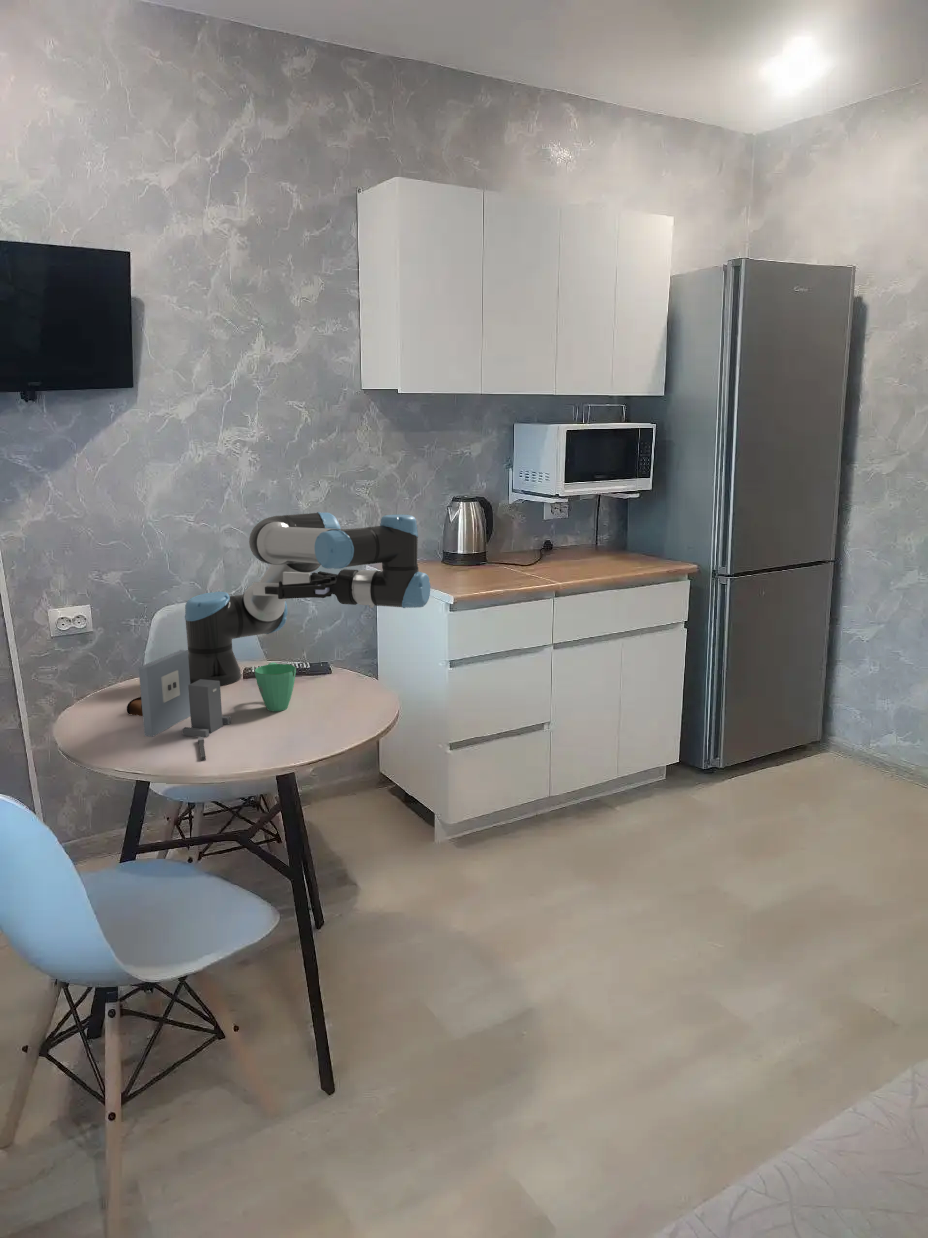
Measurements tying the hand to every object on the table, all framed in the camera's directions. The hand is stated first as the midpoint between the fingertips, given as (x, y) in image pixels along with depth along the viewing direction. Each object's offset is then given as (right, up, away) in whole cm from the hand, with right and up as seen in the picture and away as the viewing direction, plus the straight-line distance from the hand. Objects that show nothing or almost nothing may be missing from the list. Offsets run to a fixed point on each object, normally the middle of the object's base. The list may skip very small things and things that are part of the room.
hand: (269, 583), depth 200 cm
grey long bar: (-13, -36, -6) cm, 39 cm away
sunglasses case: (-32, -30, +26) cm, 51 cm away
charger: (-16, -33, +8) cm, 38 cm away
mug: (-4, -30, +25) cm, 39 cm away
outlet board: (-20, -33, +9) cm, 39 cm away
